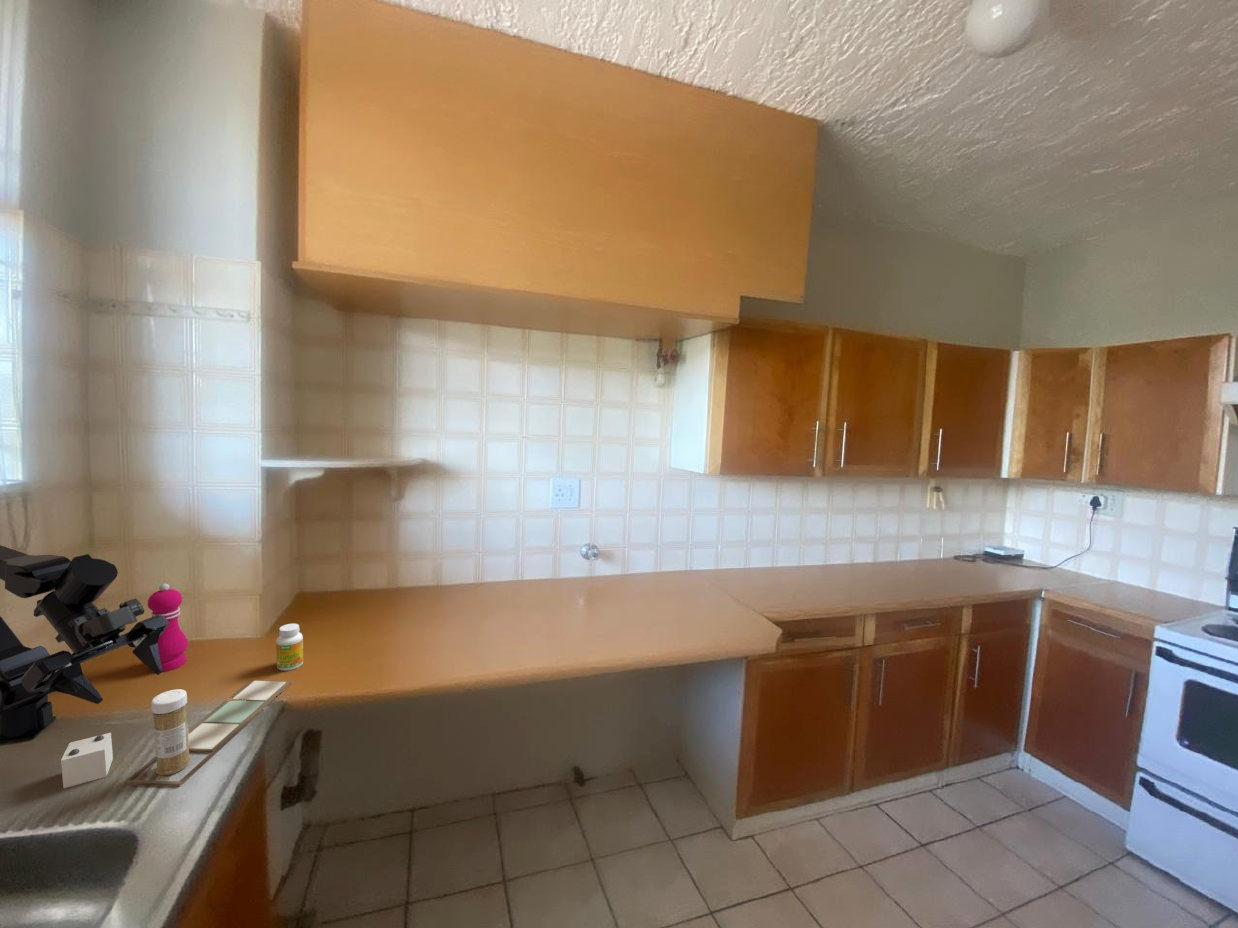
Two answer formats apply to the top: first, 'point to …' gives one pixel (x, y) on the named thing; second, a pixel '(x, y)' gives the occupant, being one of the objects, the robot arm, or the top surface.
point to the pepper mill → (169, 627)
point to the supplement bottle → (289, 647)
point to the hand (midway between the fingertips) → (131, 686)
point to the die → (87, 760)
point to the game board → (221, 725)
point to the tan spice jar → (171, 731)
